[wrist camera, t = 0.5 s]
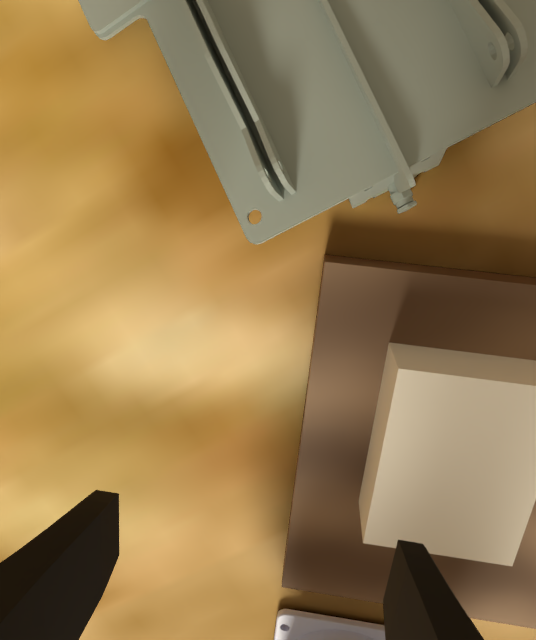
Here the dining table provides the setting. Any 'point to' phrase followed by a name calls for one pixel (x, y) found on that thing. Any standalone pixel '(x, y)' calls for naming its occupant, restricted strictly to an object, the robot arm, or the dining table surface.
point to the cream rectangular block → (452, 454)
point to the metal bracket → (334, 90)
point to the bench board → (359, 412)
